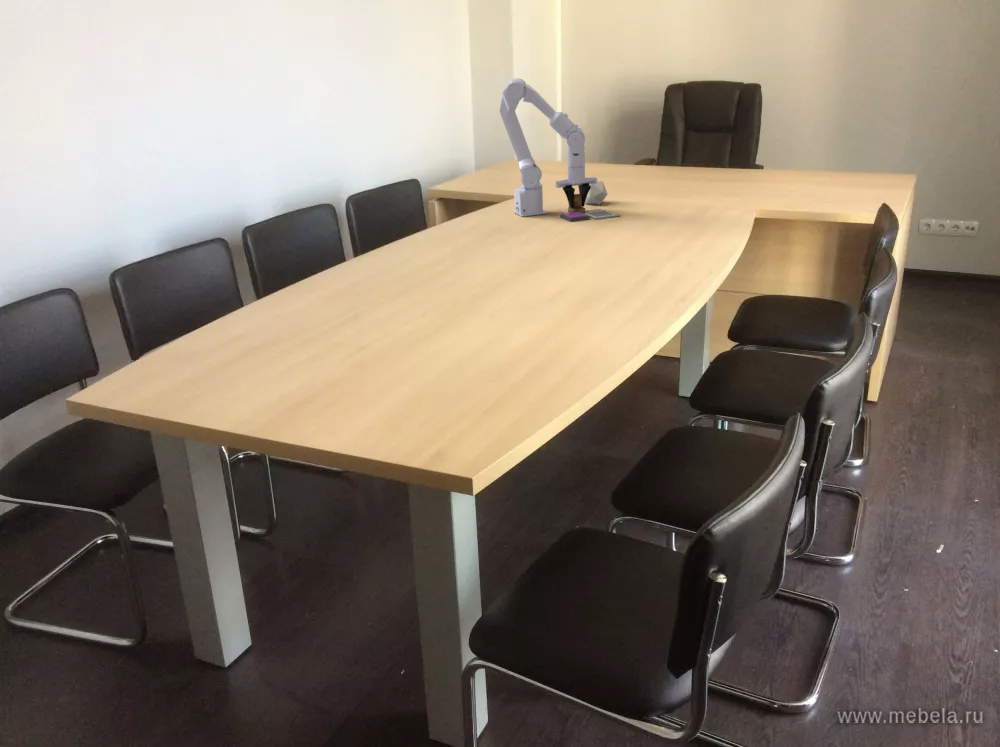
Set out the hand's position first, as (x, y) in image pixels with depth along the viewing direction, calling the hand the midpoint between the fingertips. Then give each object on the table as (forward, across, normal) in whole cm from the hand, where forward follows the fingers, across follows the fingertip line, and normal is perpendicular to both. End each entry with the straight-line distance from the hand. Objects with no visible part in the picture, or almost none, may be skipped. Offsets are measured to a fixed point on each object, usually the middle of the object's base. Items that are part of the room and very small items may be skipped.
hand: (576, 206), depth 287 cm
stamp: (+2, 0, 0) cm, 2 cm away
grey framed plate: (+2, +5, -8) cm, 10 cm away
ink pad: (+2, -4, -8) cm, 9 cm away
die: (+2, +12, +10) cm, 15 cm away
